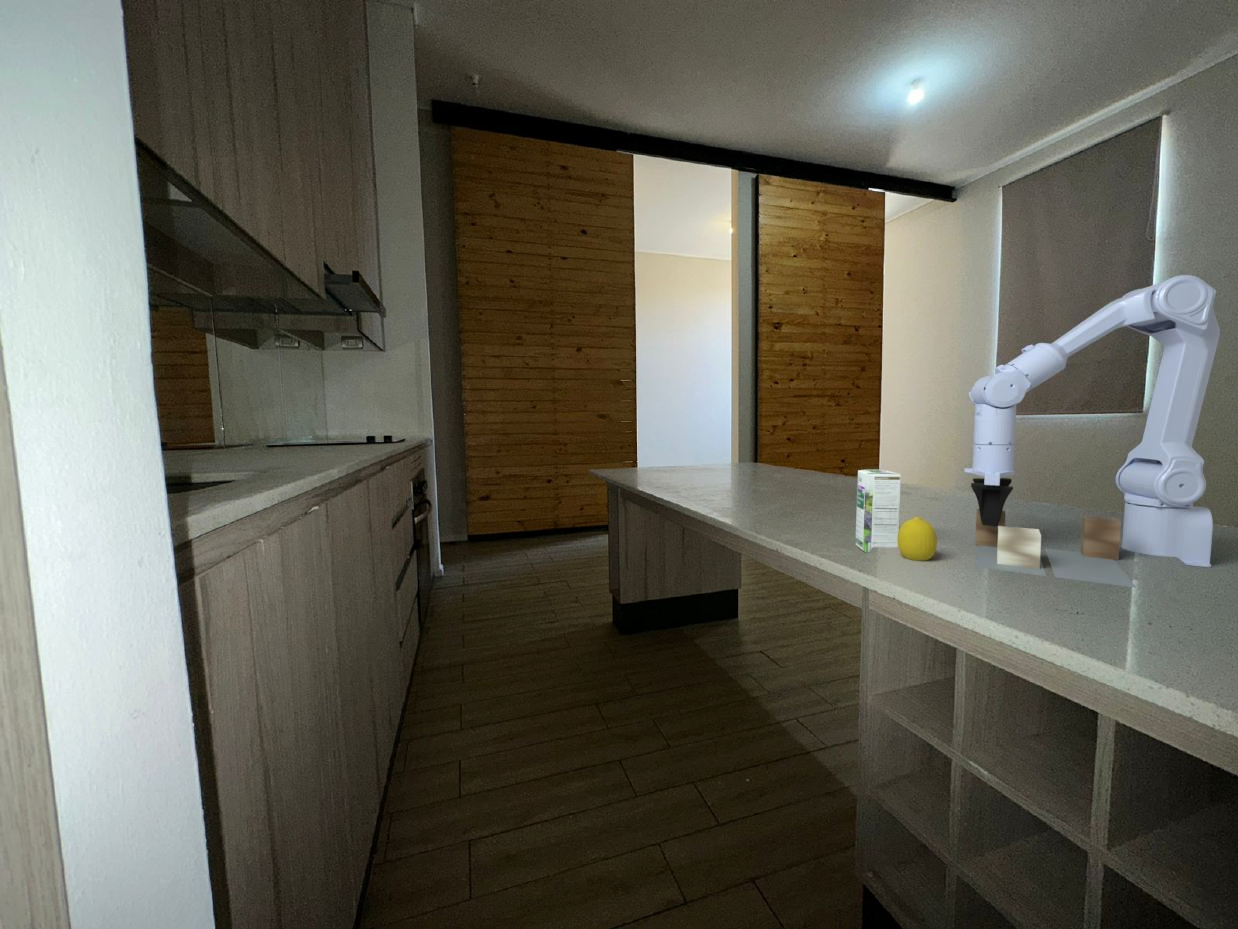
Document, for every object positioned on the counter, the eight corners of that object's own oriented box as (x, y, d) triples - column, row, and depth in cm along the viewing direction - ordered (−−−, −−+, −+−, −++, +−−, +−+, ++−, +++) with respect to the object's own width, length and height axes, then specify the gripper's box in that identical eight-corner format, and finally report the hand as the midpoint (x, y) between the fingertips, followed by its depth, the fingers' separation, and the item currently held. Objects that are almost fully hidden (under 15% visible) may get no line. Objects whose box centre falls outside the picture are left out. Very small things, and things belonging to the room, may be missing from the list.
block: (1037, 560, 77) (1038, 529, 77) (1039, 568, 73) (1041, 535, 73) (996, 556, 80) (998, 525, 80) (997, 563, 76) (998, 531, 76)
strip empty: (1114, 561, 79) (1117, 518, 78) (1141, 595, 65) (1144, 542, 64) (1044, 554, 84) (1046, 513, 83) (1054, 583, 70) (1057, 535, 69)
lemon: (944, 569, 78) (945, 519, 77) (908, 570, 78) (909, 520, 77) (923, 559, 83) (924, 513, 83) (890, 560, 84) (891, 513, 83)
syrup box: (854, 545, 94) (855, 469, 92) (887, 545, 93) (889, 468, 92) (864, 553, 88) (866, 472, 87) (900, 553, 87) (902, 472, 86)
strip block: (1036, 553, 85) (1038, 513, 84) (1045, 582, 70) (1048, 534, 70) (975, 546, 90) (977, 508, 89) (972, 572, 75) (974, 527, 75)
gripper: (967, 441, 94) (964, 512, 95) (963, 446, 82) (960, 526, 84) (1014, 442, 90) (1010, 516, 91) (1017, 446, 78) (1013, 531, 79)
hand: (989, 521), depth 87 cm, fingers open, 7 cm apart
